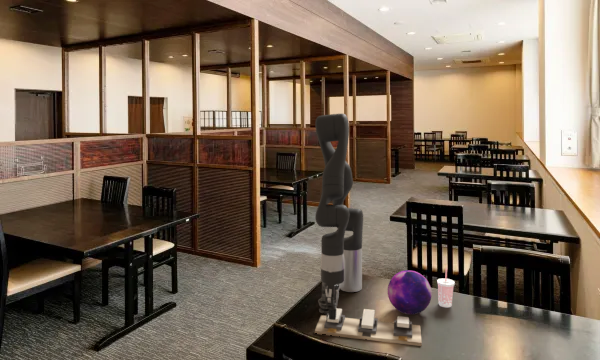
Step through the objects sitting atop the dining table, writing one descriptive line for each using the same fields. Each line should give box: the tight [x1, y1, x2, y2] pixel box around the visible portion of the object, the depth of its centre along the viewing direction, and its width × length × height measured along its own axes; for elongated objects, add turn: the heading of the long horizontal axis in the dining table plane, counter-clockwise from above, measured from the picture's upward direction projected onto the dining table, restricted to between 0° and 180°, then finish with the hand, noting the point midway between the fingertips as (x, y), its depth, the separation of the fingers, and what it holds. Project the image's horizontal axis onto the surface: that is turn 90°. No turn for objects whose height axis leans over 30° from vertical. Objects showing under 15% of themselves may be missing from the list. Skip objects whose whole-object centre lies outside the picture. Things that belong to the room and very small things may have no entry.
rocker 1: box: [327, 307, 343, 323], centre depth 134 cm, size 8×4×1 cm, turn 165°
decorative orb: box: [387, 270, 433, 315], centre depth 143 cm, size 15×15×15 cm
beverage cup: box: [436, 267, 456, 308], centre depth 148 cm, size 6×6×14 cm
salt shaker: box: [317, 281, 329, 315], centre depth 145 cm, size 6×6×12 cm
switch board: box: [314, 313, 423, 347], centre depth 131 cm, size 11×33×4 cm, turn 75°
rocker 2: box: [361, 308, 376, 329], centre depth 132 cm, size 8×4×1 cm, turn 165°
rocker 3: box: [396, 315, 410, 328], centre depth 129 cm, size 8×4×1 cm, turn 166°
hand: (332, 318), depth 131 cm, fingers closed
